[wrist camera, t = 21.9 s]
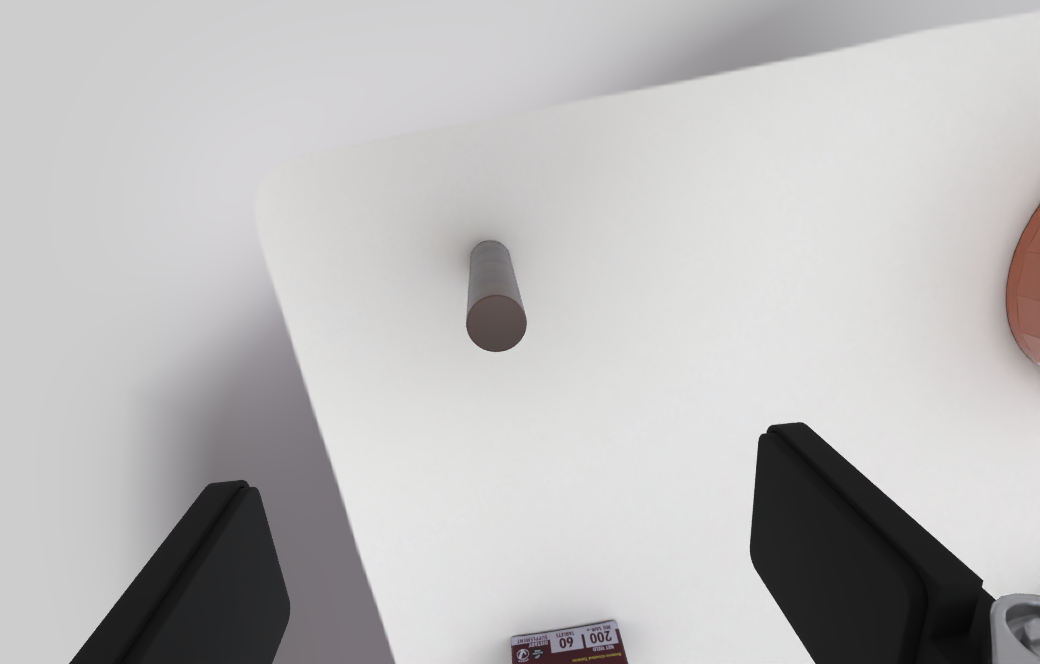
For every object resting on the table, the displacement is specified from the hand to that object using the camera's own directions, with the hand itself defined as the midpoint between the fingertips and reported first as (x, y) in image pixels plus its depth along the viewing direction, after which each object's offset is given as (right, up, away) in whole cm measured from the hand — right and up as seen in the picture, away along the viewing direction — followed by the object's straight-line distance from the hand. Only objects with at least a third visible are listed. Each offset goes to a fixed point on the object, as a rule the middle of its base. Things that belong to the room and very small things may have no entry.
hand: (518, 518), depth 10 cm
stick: (-2, +8, +23) cm, 24 cm away
